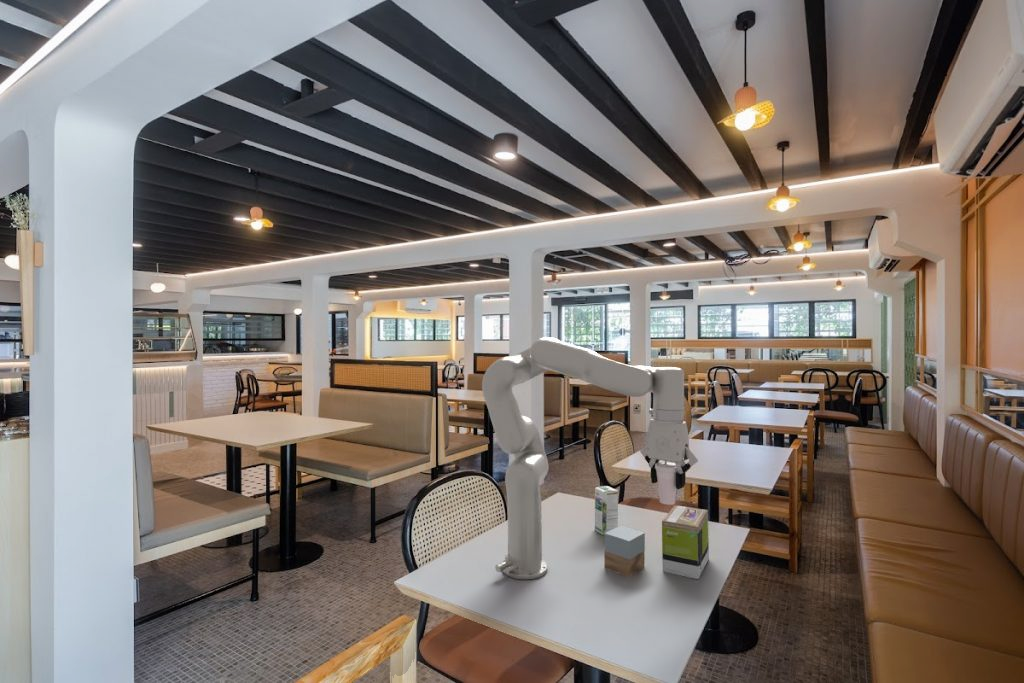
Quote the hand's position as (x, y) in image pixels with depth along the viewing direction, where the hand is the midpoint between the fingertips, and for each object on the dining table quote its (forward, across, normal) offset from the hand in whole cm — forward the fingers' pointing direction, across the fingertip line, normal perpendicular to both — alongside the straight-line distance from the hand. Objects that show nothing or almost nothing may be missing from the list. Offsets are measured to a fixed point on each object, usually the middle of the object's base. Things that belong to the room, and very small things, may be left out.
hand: (667, 484), depth 134 cm
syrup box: (+28, -34, +21) cm, 48 cm away
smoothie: (+5, 0, 0) cm, 5 cm away
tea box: (+28, -3, +16) cm, 32 cm away
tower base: (+28, -15, +3) cm, 31 cm away
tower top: (+23, -15, +3) cm, 27 cm away
